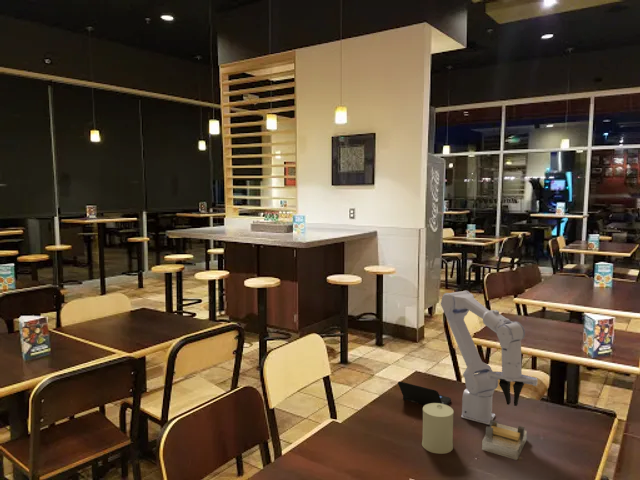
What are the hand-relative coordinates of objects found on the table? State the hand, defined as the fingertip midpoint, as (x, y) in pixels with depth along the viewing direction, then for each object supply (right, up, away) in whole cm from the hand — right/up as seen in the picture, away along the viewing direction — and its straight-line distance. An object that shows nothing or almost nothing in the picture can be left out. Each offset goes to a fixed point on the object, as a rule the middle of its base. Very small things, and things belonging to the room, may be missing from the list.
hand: (512, 404), depth 150 cm
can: (-24, -12, -4) cm, 27 cm away
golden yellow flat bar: (-4, -8, -4) cm, 10 cm away
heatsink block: (-4, -11, -4) cm, 12 cm away
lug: (+1, -8, -4) cm, 9 cm away
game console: (-22, -8, +25) cm, 34 cm away
